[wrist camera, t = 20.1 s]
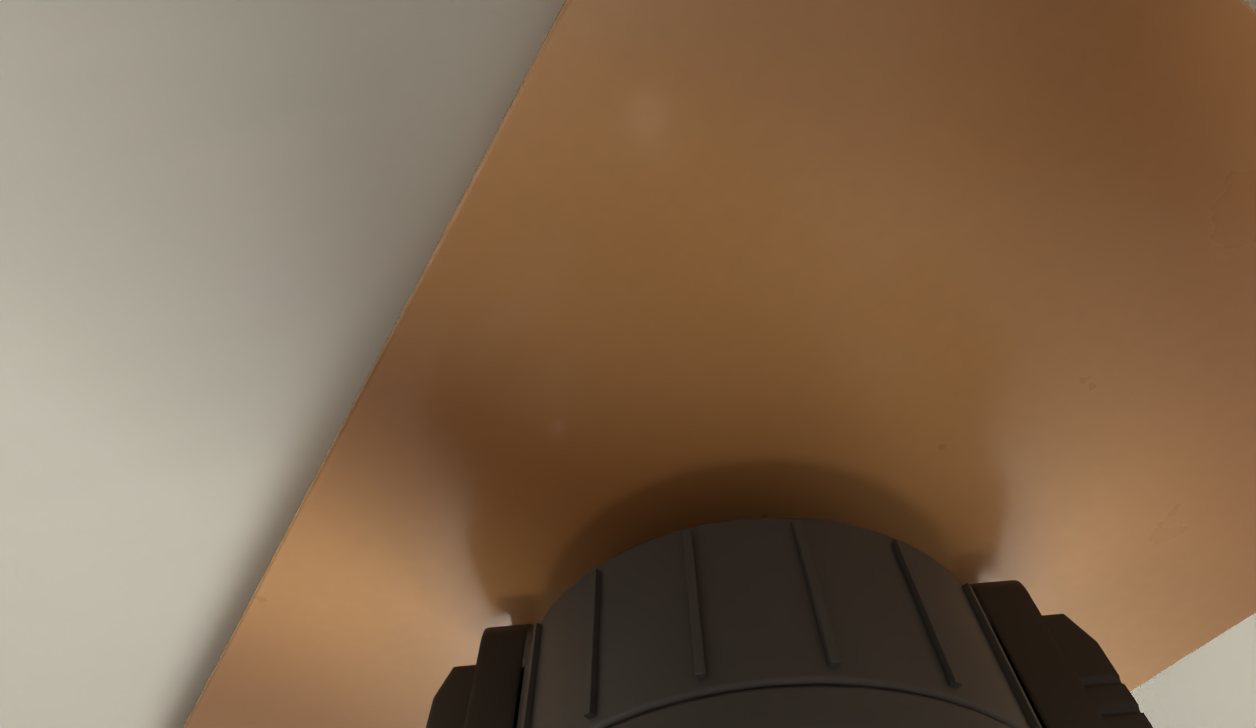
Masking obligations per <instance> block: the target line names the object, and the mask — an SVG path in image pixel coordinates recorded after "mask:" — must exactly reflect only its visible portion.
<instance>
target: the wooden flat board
mask: <svg viewBox="0 0 1256 728" xmlns="http://www.w3.org/2000/svg"><path fill="white" fill-rule="evenodd" d="M768 517H785V518H809V519H817V520H824V521H831V522H838V523H845V524H849V525H853V526H857V527H861V528H865V529H869V530H872V531H876V532H879V533H881V534H884V535H887V536H889V537H892V538H894V539H897V540H900V541H902V542H905V543H907V544H908V545H910V546H912V547H914V548H916V549H918V550H919V551H921V552H923V553H925V554H927V555H929V556H930V557H931V558H933V559H934V560H935V561H937V562H938V563H939V564H941V565H942V566H943V567H945V568H946V569H947V570H949V571H950V572H951V573H953V575H954V576H955V577H956V578H957V579H958V580H959V581H960V582H961V583H962V584H963V585H964V584H966V583H968V584H975V583H986V582H996V581H1007V580H1017V581H1019V582H1020V583H1021V584H1022V585H1023V586H1024V587H1025V588H1026V590H1027V591H1028V593H1029V594H1030V596H1031V598H1032V600H1033V601H1034V603H1035V605H1036V606H1037V608H1038V610H1039V611H1040V613H1041V615H1053V614H1065V615H1066V616H1067V617H1068V618H1069V619H1071V620H1072V621H1073V622H1074V623H1075V624H1077V625H1078V626H1079V627H1080V628H1081V629H1082V630H1084V631H1085V632H1086V633H1087V634H1088V635H1090V636H1091V637H1092V638H1093V639H1094V640H1096V641H1097V642H1098V644H1099V645H1100V647H1101V648H1102V650H1103V651H1104V653H1105V654H1106V656H1107V658H1108V659H1109V661H1110V662H1111V664H1112V665H1113V667H1114V668H1115V670H1116V671H1117V673H1118V674H1119V676H1120V681H1121V683H1122V684H1125V685H1126V687H1127V688H1128V690H1129V691H1131V690H1133V689H1134V688H1136V687H1138V686H1139V685H1141V684H1142V683H1144V682H1146V681H1147V680H1149V679H1150V678H1152V677H1153V676H1155V675H1157V674H1158V673H1160V672H1161V671H1163V670H1165V669H1166V668H1168V667H1169V666H1171V665H1173V664H1174V663H1176V662H1177V661H1179V660H1181V659H1182V658H1184V657H1185V656H1187V655H1188V654H1190V653H1192V652H1193V651H1195V650H1196V649H1198V648H1200V647H1201V646H1203V645H1204V644H1206V643H1208V642H1209V641H1211V640H1212V639H1214V638H1216V637H1217V636H1219V635H1220V634H1222V633H1223V632H1225V631H1227V630H1228V629H1230V628H1231V627H1233V626H1235V625H1236V624H1238V623H1239V622H1241V621H1243V620H1244V619H1246V618H1247V617H1249V616H1251V615H1252V614H1254V613H1255V612H1256V10H1255V9H1254V8H1253V7H1252V6H1251V5H1250V4H1249V3H1248V2H1247V1H1246V0H566V1H565V3H564V5H563V7H562V9H561V11H560V13H559V14H558V16H557V18H556V20H555V22H554V24H553V26H552V28H551V30H550V32H549V33H548V35H547V37H546V39H545V41H544V43H543V45H542V47H541V49H540V51H539V52H538V54H537V56H536V58H535V60H534V62H533V64H532V66H531V68H530V70H529V71H528V73H527V75H526V77H525V79H524V81H523V83H522V85H521V87H520V89H519V90H518V92H517V94H516V96H515V98H514V100H513V102H512V104H511V106H510V108H509V109H508V111H507V113H506V115H505V117H504V119H503V121H502V123H501V125H500V127H499V128H498V130H497V132H496V134H495V136H494V138H493V140H492V142H491V144H490V146H489V147H488V149H487V151H486V153H485V155H484V157H483V159H482V161H481V163H480V165H479V166H478V168H477V170H476V172H475V174H474V176H473V178H472V180H471V182H470V184H469V185H468V187H467V189H466V191H465V193H464V195H463V197H462V199H461V201H460V203H459V204H458V206H457V208H456V210H455V212H454V214H453V216H452V218H451V220H450V222H449V223H448V225H447V227H446V229H445V231H444V233H443V235H442V237H441V239H440V241H439V242H438V244H437V246H436V248H435V250H434V252H433V254H432V256H431V258H430V260H429V262H428V263H427V265H426V267H425V269H424V271H423V273H422V275H421V277H420V279H419V281H418V282H417V284H416V286H415V288H414V290H413V292H412V294H411V296H410V298H409V300H408V301H407V303H406V305H405V307H404V309H403V311H402V313H401V315H400V317H399V319H398V320H397V322H396V324H395V326H394V328H393V330H392V332H391V334H390V336H389V338H388V339H387V341H386V343H385V345H384V347H383V349H382V351H381V353H380V355H379V357H378V358H377V360H376V362H375V364H374V366H373V368H372V370H371V372H370V374H369V376H368V377H367V379H366V381H365V383H364V385H363V387H362V389H361V391H360V393H359V395H358V396H357V398H356V400H355V402H354V404H353V406H352V408H351V410H350V412H349V414H348V415H347V417H346V419H345V421H344V423H343V425H342V427H341V429H340V431H339V433H338V434H337V436H336V438H335V440H334V442H333V444H332V446H331V448H330V450H329V452H328V453H327V455H326V457H325V459H324V461H323V463H322V465H321V467H320V469H319V471H318V472H317V474H316V476H315V478H314V480H313V482H312V484H311V486H310V488H309V490H308V491H307V493H306V495H305V497H304V499H303V501H302V503H301V505H300V507H299V509H298V511H297V512H296V514H295V516H294V518H293V520H292V522H291V524H290V526H289V528H288V530H287V531H286V533H285V535H284V537H283V539H282V541H281V543H280V545H279V547H278V549H277V550H276V552H275V554H274V556H273V558H272V560H271V562H270V564H269V566H268V568H267V569H266V571H265V573H264V575H263V577H262V579H261V581H260V583H259V585H258V587H257V588H256V590H255V592H254V594H253V596H252V598H251V600H250V602H249V604H248V606H247V607H246V609H245V611H244V613H243V615H242V617H241V619H240V621H239V623H238V625H237V626H236V628H235V630H234V632H233V634H232V636H231V638H230V640H229V642H228V644H227V645H226V647H225V649H224V651H223V653H222V655H221V657H220V659H219V661H218V663H217V664H216V666H215V668H214V670H213V672H212V674H211V676H210V678H209V680H208V682H207V683H206V685H205V687H204V689H203V691H202V693H201V695H200V697H199V699H198V701H197V702H196V704H195V706H194V708H193V710H192V712H191V714H190V716H189V718H188V720H187V721H186V723H185V725H184V727H183V728H426V725H427V721H428V717H429V713H430V709H431V705H432V701H433V698H434V696H435V695H436V693H437V692H438V690H439V689H440V687H441V686H442V684H443V682H444V681H445V679H446V678H447V676H448V675H449V673H450V672H451V670H452V669H453V667H458V666H468V665H476V662H477V657H478V652H479V647H480V642H481V638H482V635H483V632H484V630H485V629H486V628H489V627H500V626H510V625H521V624H533V625H534V626H535V624H536V623H539V624H540V623H541V621H542V620H543V618H544V616H545V615H546V613H547V612H548V610H549V609H550V608H551V606H552V605H553V604H554V603H555V602H556V601H557V600H558V599H559V598H560V597H561V595H562V594H563V593H564V592H565V591H566V590H567V589H568V588H569V587H571V586H572V585H573V584H574V583H575V582H577V581H578V580H579V579H580V578H582V577H583V576H584V575H585V574H586V573H588V572H589V571H591V570H593V569H594V568H596V567H597V566H599V565H600V564H602V563H604V562H605V561H607V560H608V559H610V558H612V557H614V556H616V555H618V554H620V553H622V552H624V551H626V550H628V549H630V548H632V547H634V546H636V545H639V544H641V543H644V542H646V541H649V540H652V539H655V538H658V537H660V536H663V535H666V534H669V533H672V532H676V531H680V530H684V529H688V528H692V527H696V526H700V525H704V524H710V523H717V522H723V521H730V520H737V519H750V518H768Z"/></svg>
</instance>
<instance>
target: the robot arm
mask: <svg viewBox="0 0 1256 728" xmlns="http://www.w3.org/2000/svg"><path fill="white" fill-rule="evenodd" d="M969 585H970V586H971V587H972V589H973V591H974V593H975V595H976V597H977V599H978V601H979V603H980V605H981V607H982V609H983V611H984V613H985V615H986V617H987V619H988V621H989V623H990V625H991V627H992V629H993V631H994V633H995V635H996V637H997V639H998V641H999V643H1000V645H1001V647H1002V649H1003V651H1004V653H1005V655H1006V657H1007V659H1008V661H1009V663H1010V665H1011V667H1012V669H1013V671H1014V673H1015V675H1016V677H1017V679H1018V681H1019V683H1020V685H1021V687H1022V689H1023V691H1024V693H1025V695H1026V697H1027V699H1028V701H1029V703H1030V705H1031V707H1032V709H1033V711H1034V713H1035V715H1036V717H1037V719H1038V721H1039V723H1040V725H1041V727H1042V728H1153V727H1152V725H1151V724H1150V722H1149V721H1148V719H1147V718H1146V716H1145V715H1144V713H1141V712H1140V710H1139V705H1138V704H1137V702H1136V701H1135V699H1134V698H1133V696H1132V695H1131V693H1130V691H1129V690H1128V688H1127V687H1126V685H1125V684H1122V683H1121V681H1120V676H1119V674H1118V673H1117V671H1116V670H1115V668H1114V667H1113V665H1112V664H1111V662H1110V661H1109V659H1108V658H1107V656H1106V654H1105V653H1104V651H1103V650H1102V648H1101V647H1100V645H1099V644H1098V642H1097V641H1096V640H1094V639H1093V638H1092V637H1091V636H1090V635H1088V634H1087V633H1086V632H1085V631H1084V630H1082V629H1081V628H1080V627H1079V626H1078V625H1077V624H1075V623H1074V622H1073V621H1072V620H1071V619H1069V618H1068V617H1067V616H1066V615H1065V614H1053V615H1041V613H1040V611H1039V610H1038V608H1037V606H1036V605H1035V603H1034V601H1033V600H1032V598H1031V596H1030V594H1029V593H1028V591H1027V590H1026V588H1025V587H1024V586H1023V585H1022V584H1021V583H1020V582H1019V581H1017V580H1007V581H996V582H986V583H975V584H969ZM533 629H534V625H533V624H521V625H510V626H500V627H489V628H486V629H485V630H484V632H483V635H482V638H481V642H480V647H479V652H478V657H477V662H476V665H468V666H458V667H453V669H452V670H451V672H450V673H449V675H448V676H447V678H446V679H445V681H444V682H443V684H442V686H441V687H440V689H439V690H438V692H437V693H436V695H435V696H434V698H433V701H432V705H431V709H430V713H429V717H428V721H427V725H426V728H516V726H517V719H518V711H519V704H520V696H521V689H522V681H523V673H524V667H525V661H526V656H527V650H528V648H529V645H530V643H531V640H532V637H533Z"/></svg>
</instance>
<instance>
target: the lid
mask: <svg viewBox="0 0 1256 728" xmlns="http://www.w3.org/2000/svg"><path fill="white" fill-rule="evenodd" d="M516 728H1042V727H1041V725H1040V723H1039V721H1038V719H1037V717H1036V715H1035V713H1034V711H1033V709H1032V707H1031V705H1030V703H1029V701H1028V699H1027V697H1026V695H1025V693H1024V691H1023V689H1022V687H1021V685H1020V683H1019V681H1018V679H1017V677H1016V675H1015V673H1014V671H1013V669H1012V667H1011V665H1010V663H1009V661H1008V659H1007V657H1006V655H1005V653H1004V651H1003V649H1002V647H1001V645H1000V643H999V641H998V639H997V637H996V635H995V633H994V631H993V629H992V627H991V625H990V623H989V621H988V619H987V617H986V615H985V613H984V611H983V609H982V607H981V605H980V603H979V601H978V599H977V597H976V595H975V593H974V591H973V589H972V587H971V586H970V585H969V584H968V583H966V584H964V585H963V584H962V583H961V582H960V581H959V580H958V579H957V578H956V577H955V576H954V575H953V573H951V572H950V571H949V570H947V569H946V568H945V567H943V566H942V565H941V564H939V563H938V562H937V561H935V560H934V559H933V558H931V557H930V556H929V555H927V554H925V553H923V552H921V551H919V550H918V549H916V548H914V547H912V546H910V545H908V544H907V543H905V542H902V541H900V540H897V539H894V538H892V537H889V536H887V535H884V534H881V533H879V532H876V531H872V530H869V529H865V528H861V527H857V526H853V525H849V524H845V523H838V522H831V521H824V520H817V519H809V518H785V517H768V518H750V519H737V520H730V521H723V522H717V523H710V524H704V525H700V526H696V527H692V528H688V529H684V530H680V531H676V532H672V533H669V534H666V535H663V536H660V537H658V538H655V539H652V540H649V541H646V542H644V543H641V544H639V545H636V546H634V547H632V548H630V549H628V550H626V551H624V552H622V553H620V554H618V555H616V556H614V557H612V558H610V559H608V560H607V561H605V562H604V563H602V564H600V565H599V566H597V567H596V568H594V569H593V570H591V571H589V572H588V573H586V574H585V575H584V576H583V577H582V578H580V579H579V580H578V581H577V582H575V583H574V584H573V585H572V586H571V587H569V588H568V589H567V590H566V591H565V592H564V593H563V594H562V595H561V597H560V598H559V599H558V600H557V601H556V602H555V603H554V604H553V605H552V606H551V608H550V609H549V610H548V612H547V613H546V615H545V616H544V618H543V620H542V621H541V623H540V624H539V623H536V624H535V626H534V629H533V637H532V640H531V643H530V645H529V648H528V650H527V656H526V661H525V667H524V673H523V681H522V689H521V696H520V704H519V711H518V719H517V726H516Z"/></svg>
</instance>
